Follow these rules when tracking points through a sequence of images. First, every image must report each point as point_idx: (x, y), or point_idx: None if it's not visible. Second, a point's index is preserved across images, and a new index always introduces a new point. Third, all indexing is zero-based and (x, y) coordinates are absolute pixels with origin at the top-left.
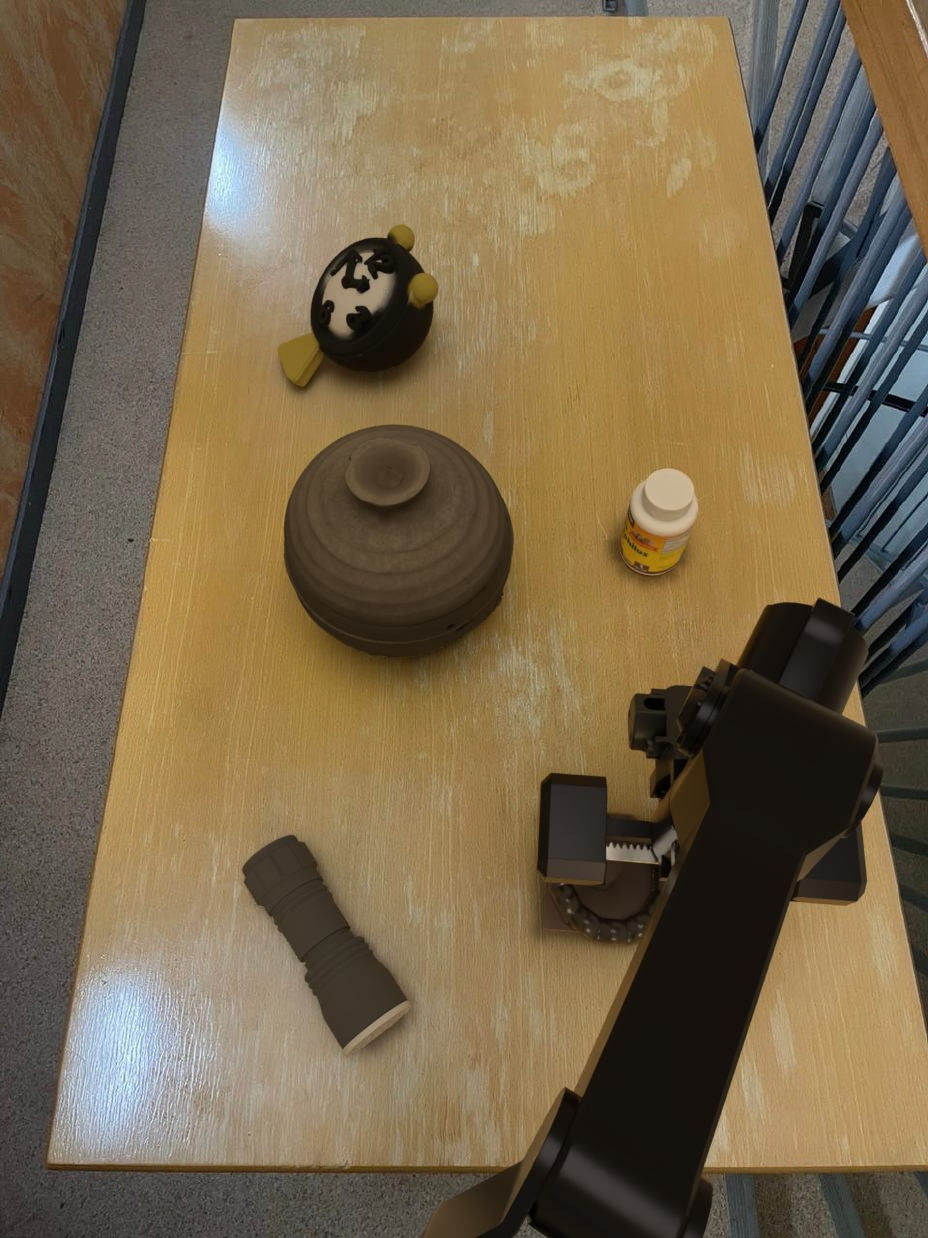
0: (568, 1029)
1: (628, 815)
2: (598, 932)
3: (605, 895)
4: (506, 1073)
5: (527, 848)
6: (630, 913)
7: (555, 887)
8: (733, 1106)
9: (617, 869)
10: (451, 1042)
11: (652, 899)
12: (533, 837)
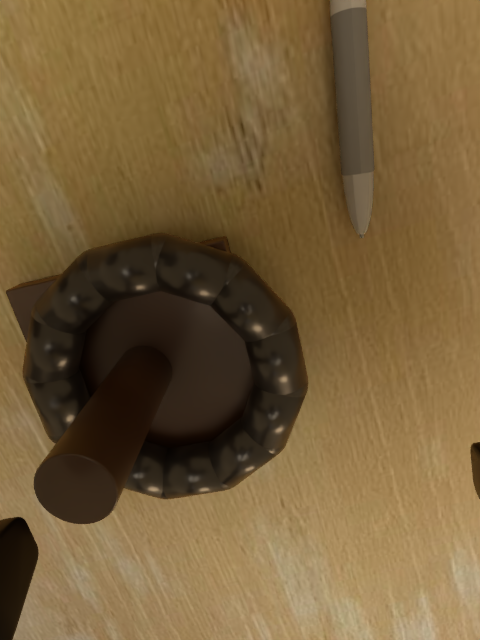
0: (180, 570)
1: (149, 246)
2: (162, 494)
3: (168, 397)
4: (116, 630)
5: (5, 340)
6: (223, 415)
7: (53, 439)
8: (442, 601)
9: (103, 502)
10: (30, 616)
11: (252, 406)
12: (6, 317)
